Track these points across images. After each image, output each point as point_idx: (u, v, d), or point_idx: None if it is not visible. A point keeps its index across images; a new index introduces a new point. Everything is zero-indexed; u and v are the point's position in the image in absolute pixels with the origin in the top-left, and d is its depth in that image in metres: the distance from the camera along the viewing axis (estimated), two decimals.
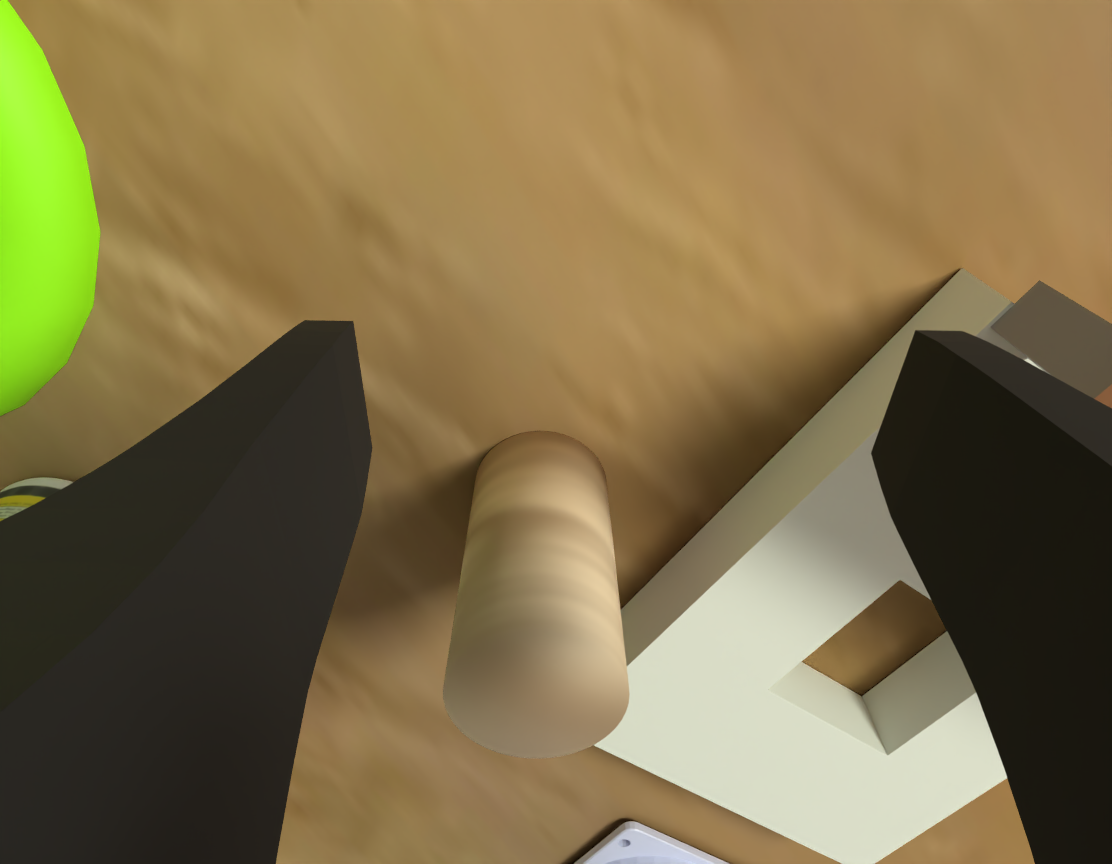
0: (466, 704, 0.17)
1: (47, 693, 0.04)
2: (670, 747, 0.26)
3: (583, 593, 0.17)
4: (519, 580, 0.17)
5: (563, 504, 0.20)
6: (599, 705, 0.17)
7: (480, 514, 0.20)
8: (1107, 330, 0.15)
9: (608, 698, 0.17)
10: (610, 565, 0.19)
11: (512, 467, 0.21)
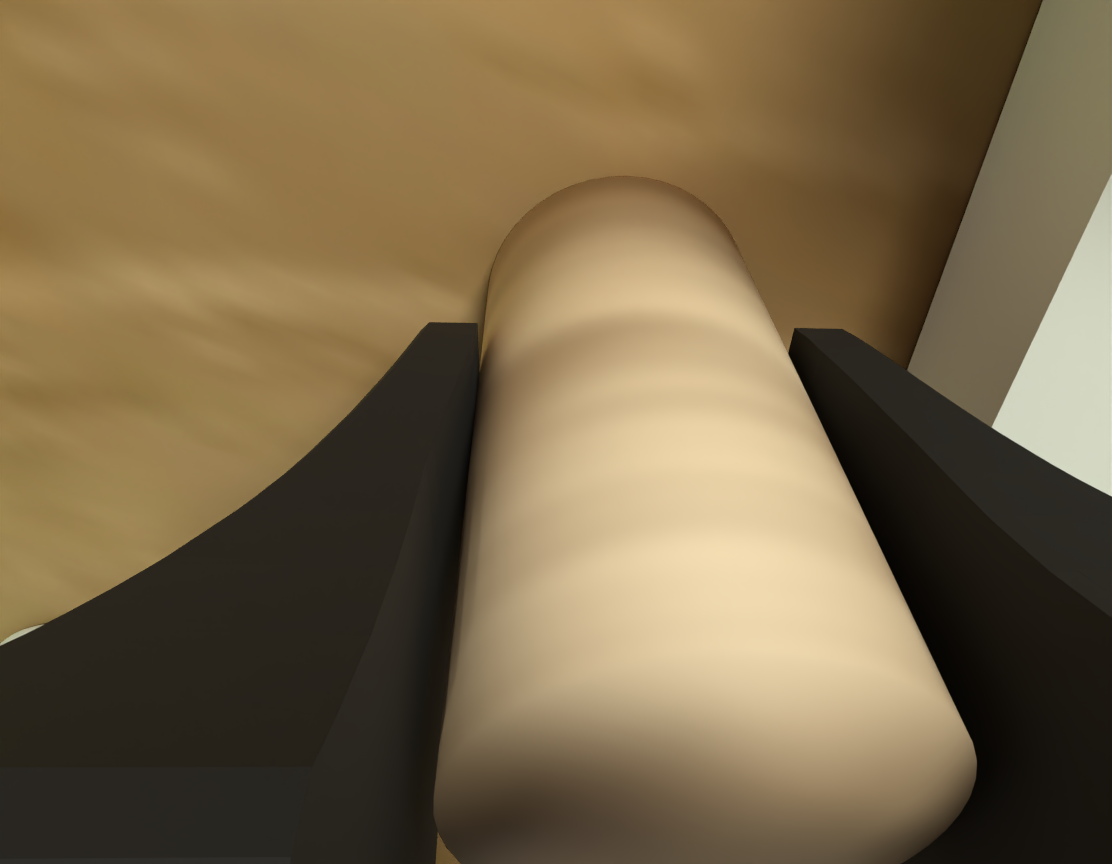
0: None
1: (354, 694, 0.04)
2: None
3: (689, 497, 0.06)
4: (511, 540, 0.06)
5: (601, 302, 0.08)
6: (884, 773, 0.06)
7: None
8: None
9: (903, 753, 0.05)
10: (765, 379, 0.07)
11: (504, 290, 0.10)
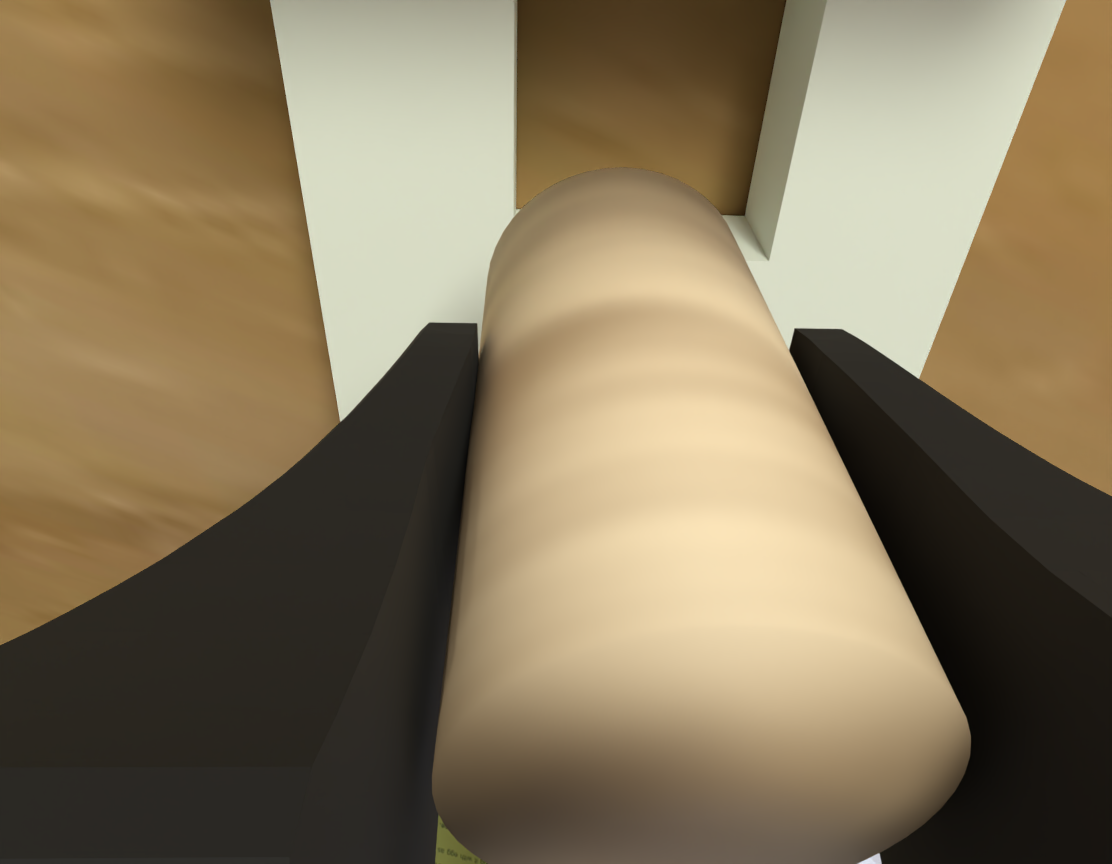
0: (546, 857, 0.06)
1: (354, 693, 0.04)
2: None
3: (685, 476, 0.06)
4: (509, 520, 0.06)
5: (598, 289, 0.08)
6: (881, 750, 0.06)
7: None
8: None
9: (897, 729, 0.05)
10: (762, 363, 0.07)
11: (503, 280, 0.10)
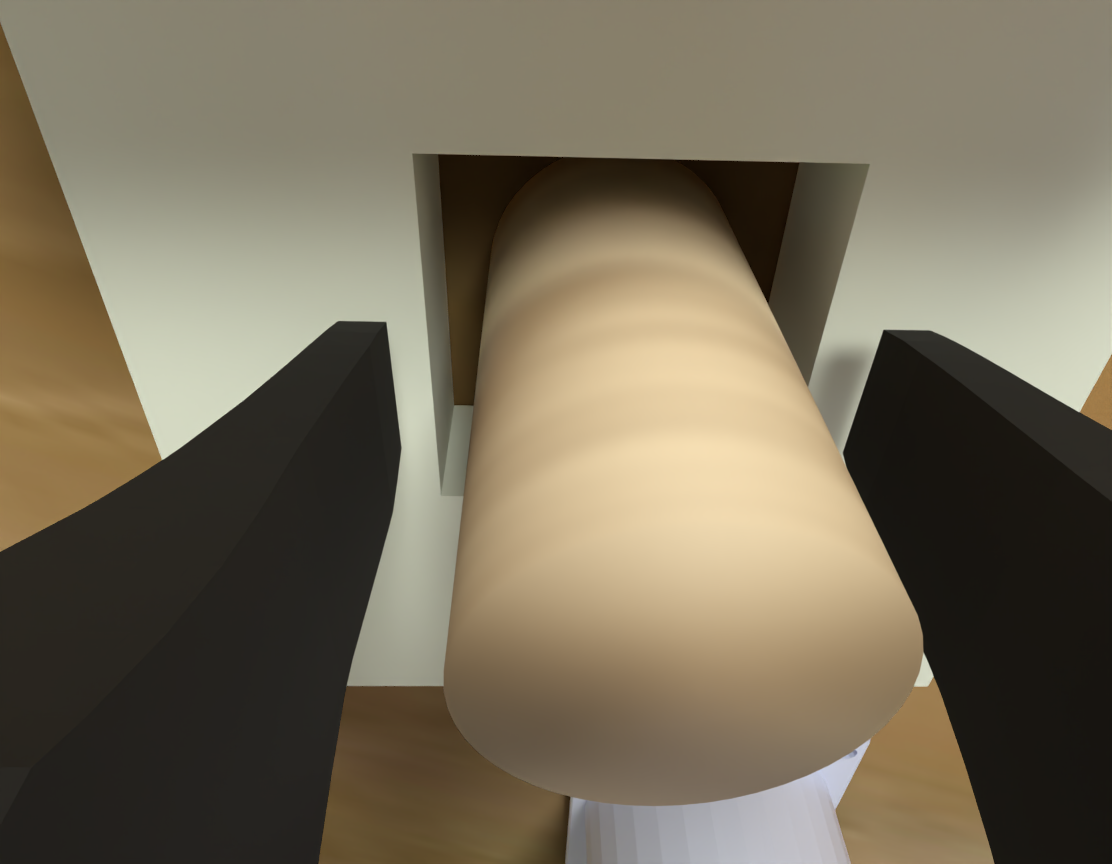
0: (545, 756, 0.07)
1: (130, 693, 0.04)
2: (414, 644, 0.15)
3: (670, 406, 0.06)
4: (513, 449, 0.07)
5: (595, 252, 0.09)
6: (842, 648, 0.06)
7: None
8: None
9: (857, 625, 0.06)
10: (743, 317, 0.08)
11: (506, 250, 0.11)
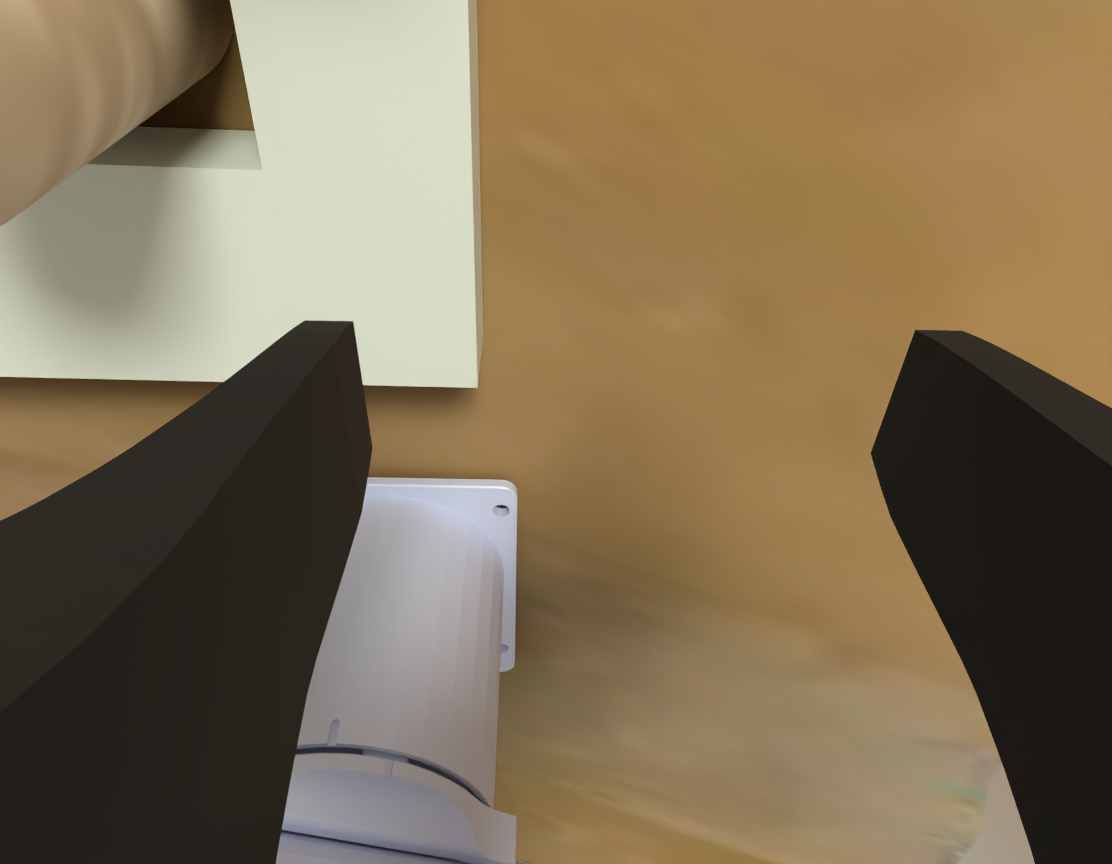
0: None
1: (48, 693, 0.04)
2: (20, 328, 0.18)
3: None
4: None
5: None
6: None
7: None
8: None
9: None
10: None
11: None
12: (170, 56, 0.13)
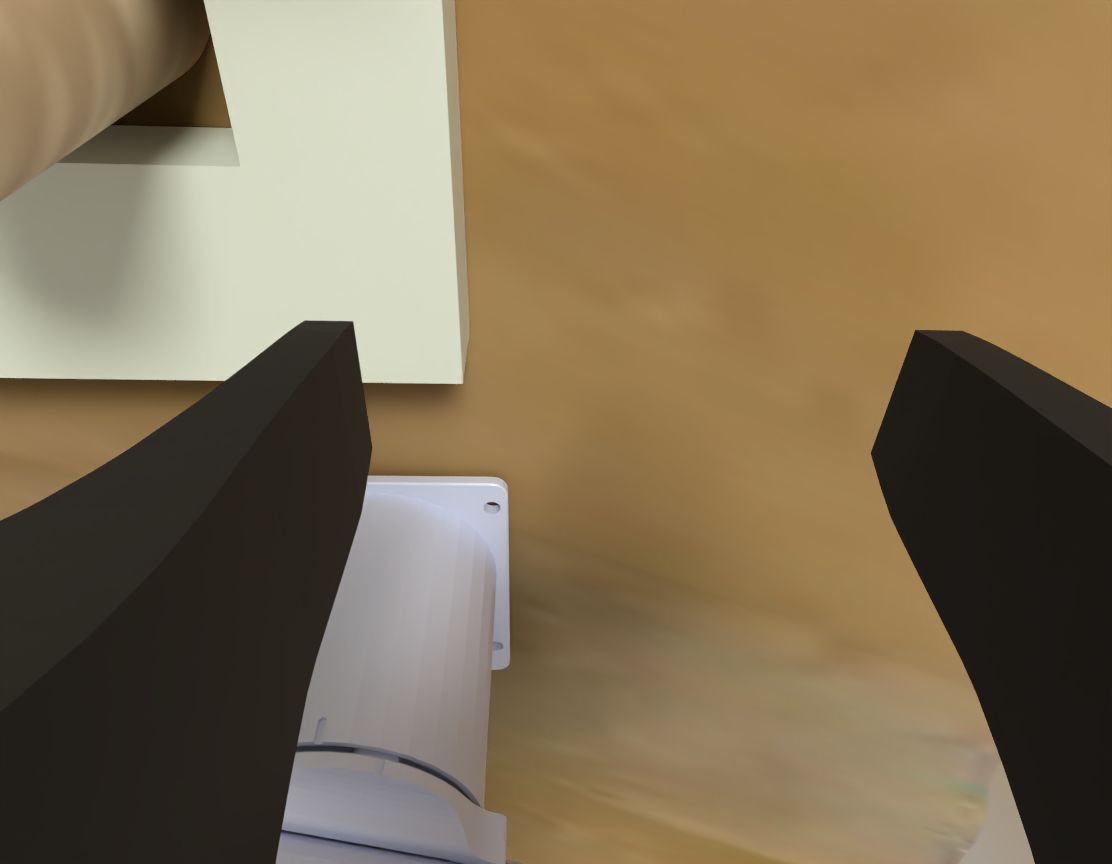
0: None
1: (47, 693, 0.04)
2: (3, 329, 0.18)
3: None
4: None
5: None
6: None
7: None
8: None
9: None
10: None
11: None
12: (143, 53, 0.13)
